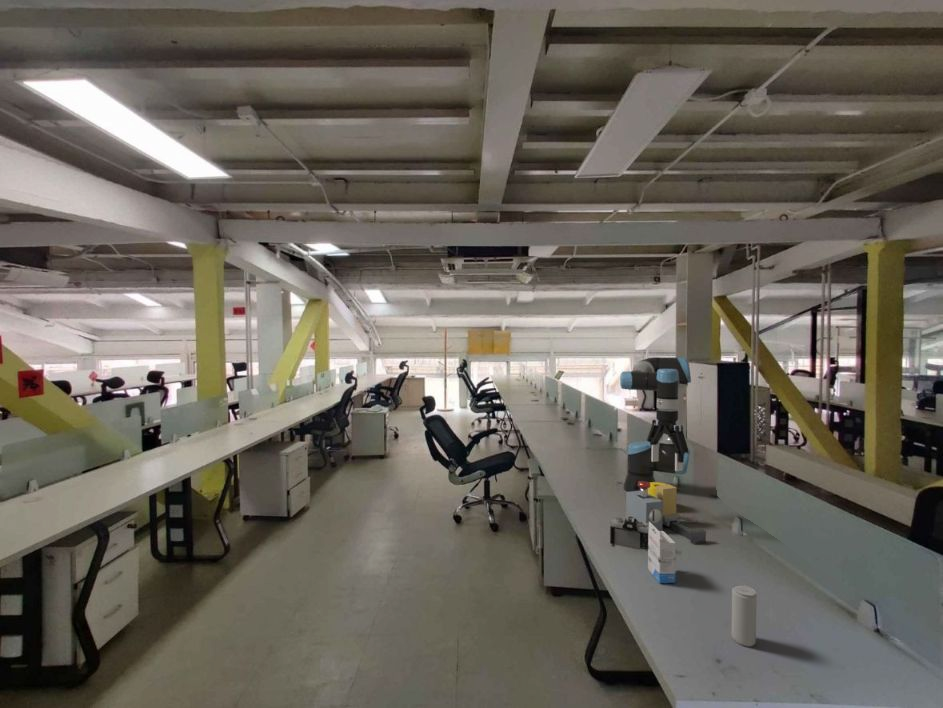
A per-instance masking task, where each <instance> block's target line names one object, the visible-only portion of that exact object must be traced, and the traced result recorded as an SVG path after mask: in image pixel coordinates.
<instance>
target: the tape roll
mask: <svg viewBox="0 0 943 708" xmlns="http://www.w3.org/2000/svg"><path fill="white" fill-rule="evenodd" d="M649 483H650V488H648V494H650V495H652V496H654V497H656V486H658V485H668V484H667V483H663V482H657V481H655V482H649Z"/></svg>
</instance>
